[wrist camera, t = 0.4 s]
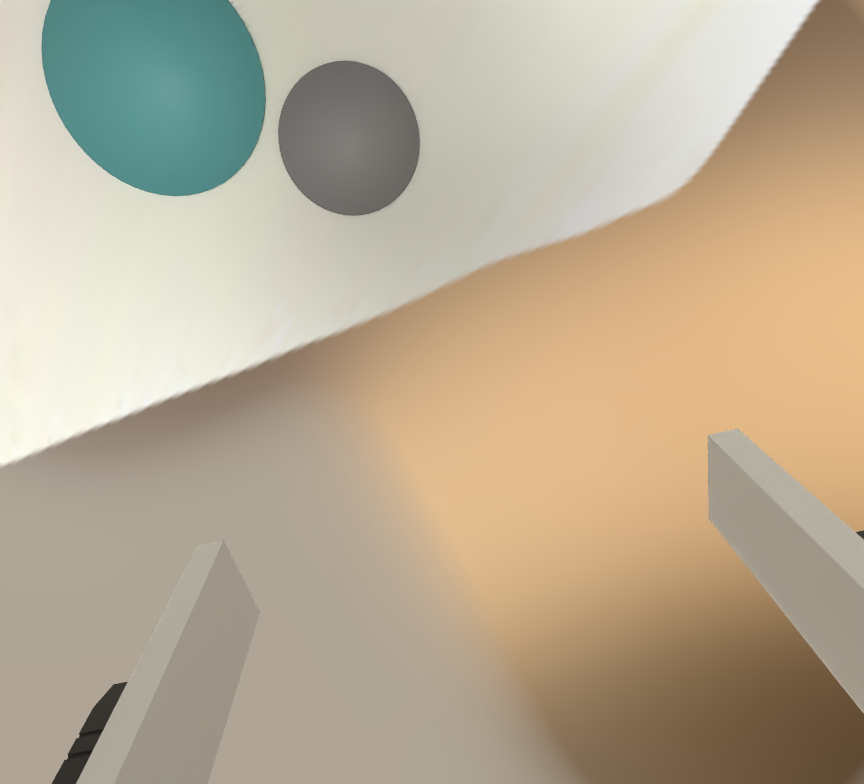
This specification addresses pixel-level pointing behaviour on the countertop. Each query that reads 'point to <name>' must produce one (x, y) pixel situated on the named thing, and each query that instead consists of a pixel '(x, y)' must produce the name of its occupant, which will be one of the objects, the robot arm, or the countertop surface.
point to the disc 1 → (156, 88)
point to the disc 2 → (348, 138)
